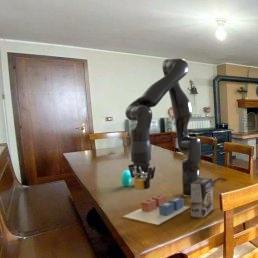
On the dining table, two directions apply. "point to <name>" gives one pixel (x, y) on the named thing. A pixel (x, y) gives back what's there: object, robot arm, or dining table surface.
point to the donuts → (126, 178)
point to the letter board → (152, 215)
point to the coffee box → (201, 197)
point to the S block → (139, 183)
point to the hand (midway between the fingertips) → (142, 187)
